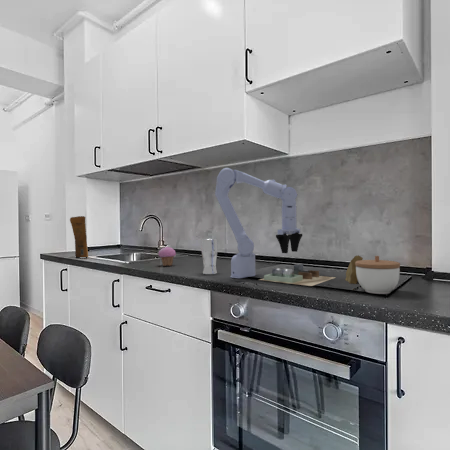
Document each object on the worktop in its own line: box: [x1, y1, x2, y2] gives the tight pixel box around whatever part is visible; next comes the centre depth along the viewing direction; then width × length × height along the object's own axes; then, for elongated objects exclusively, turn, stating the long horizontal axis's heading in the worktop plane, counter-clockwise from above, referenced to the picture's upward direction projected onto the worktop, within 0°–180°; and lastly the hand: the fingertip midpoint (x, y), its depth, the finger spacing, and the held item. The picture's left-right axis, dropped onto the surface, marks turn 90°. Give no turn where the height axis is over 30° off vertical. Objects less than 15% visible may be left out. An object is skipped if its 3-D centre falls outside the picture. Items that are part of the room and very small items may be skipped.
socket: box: [298, 269, 320, 279], centre depth 126 cm, size 5×7×2 cm
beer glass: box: [200, 238, 218, 275], centre depth 147 cm, size 7×7×15 cm
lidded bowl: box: [355, 255, 401, 295], centre depth 104 cm, size 13×13×11 cm
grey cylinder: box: [271, 267, 294, 278], centre depth 123 cm, size 7×4×4 cm
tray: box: [263, 273, 303, 284], centre depth 122 cm, size 12×8×2 cm, turn 49°
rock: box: [345, 254, 364, 285], centre depth 117 cm, size 11×9×10 cm
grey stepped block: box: [293, 263, 310, 275], centre depth 127 cm, size 5×4×4 cm
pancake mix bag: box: [69, 215, 89, 258], centre depth 226 cm, size 7×19×28 cm, turn 46°
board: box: [258, 275, 337, 287], centre depth 124 cm, size 21×20×1 cm
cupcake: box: [158, 246, 177, 267], centre depth 175 cm, size 9×9×10 cm
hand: (289, 252), depth 132 cm, fingers open, 7 cm apart
